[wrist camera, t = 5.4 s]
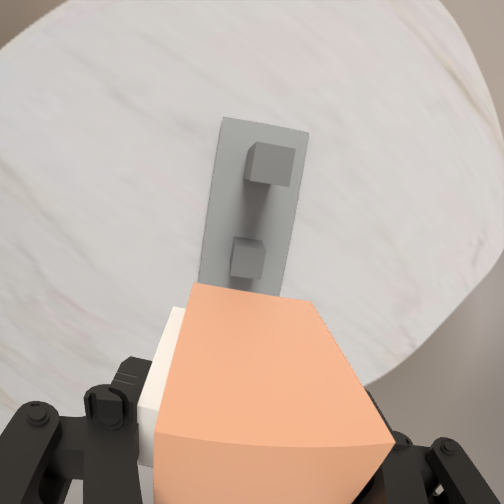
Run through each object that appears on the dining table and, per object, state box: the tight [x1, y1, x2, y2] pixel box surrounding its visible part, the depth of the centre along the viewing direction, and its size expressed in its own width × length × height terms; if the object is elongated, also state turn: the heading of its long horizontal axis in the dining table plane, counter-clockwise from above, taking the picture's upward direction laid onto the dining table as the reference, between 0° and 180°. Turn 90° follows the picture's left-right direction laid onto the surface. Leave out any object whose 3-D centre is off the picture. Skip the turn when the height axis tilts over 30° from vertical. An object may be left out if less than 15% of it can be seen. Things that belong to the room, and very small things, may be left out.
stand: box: [198, 117, 309, 297], centre depth 26 cm, size 8×16×9 cm, turn 171°
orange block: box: [153, 282, 396, 504], centre depth 10 cm, size 5×5×9 cm
